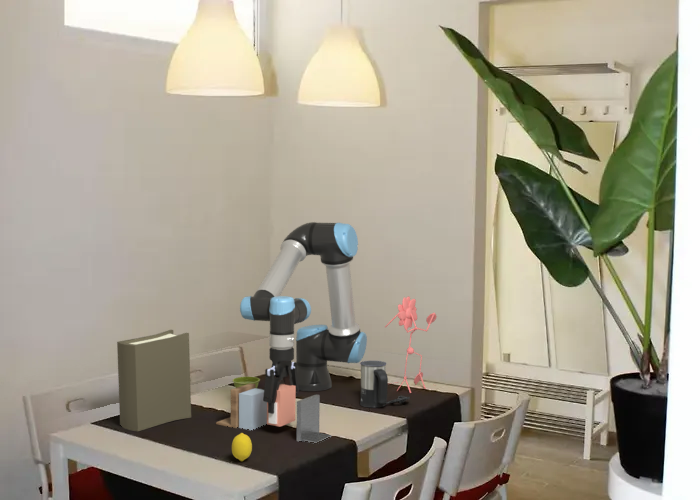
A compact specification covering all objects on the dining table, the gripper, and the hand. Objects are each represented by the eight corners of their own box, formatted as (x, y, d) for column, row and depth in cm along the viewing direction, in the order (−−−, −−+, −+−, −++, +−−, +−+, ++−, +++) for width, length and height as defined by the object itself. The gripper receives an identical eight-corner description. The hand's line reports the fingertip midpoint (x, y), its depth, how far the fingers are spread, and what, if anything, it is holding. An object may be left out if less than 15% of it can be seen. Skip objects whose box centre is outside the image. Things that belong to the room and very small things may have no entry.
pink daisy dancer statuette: (440, 385, 315) (442, 295, 313) (398, 398, 296) (400, 301, 293) (408, 378, 326) (410, 291, 323) (366, 390, 306) (367, 297, 303)
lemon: (228, 463, 225) (228, 434, 225) (237, 457, 231) (237, 429, 230) (245, 465, 223) (246, 437, 223) (255, 459, 229) (255, 431, 228)
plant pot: (242, 409, 279) (242, 384, 278) (227, 403, 286) (227, 379, 285) (265, 404, 285) (265, 380, 284) (249, 399, 292) (249, 375, 292)
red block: (282, 417, 259) (282, 383, 258) (295, 420, 256) (295, 385, 255) (266, 424, 252) (267, 388, 251) (280, 426, 249) (280, 391, 249)
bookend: (315, 432, 254) (315, 394, 253) (332, 436, 250) (333, 397, 250) (296, 441, 245) (296, 401, 244) (314, 444, 242) (315, 404, 241)
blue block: (254, 421, 265) (254, 388, 264) (267, 424, 262) (267, 390, 261) (239, 427, 258) (239, 393, 257) (251, 430, 255) (251, 395, 255)
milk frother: (354, 404, 288) (354, 362, 286) (386, 396, 298) (387, 356, 297) (381, 412, 277) (382, 369, 276) (414, 405, 287) (415, 363, 286)
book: (135, 434, 252) (132, 344, 250) (117, 428, 258) (114, 340, 256) (191, 417, 269) (188, 333, 266) (173, 412, 275) (170, 329, 272)
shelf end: (236, 416, 270) (236, 380, 269) (255, 420, 266) (255, 384, 265) (216, 424, 262) (216, 387, 261) (235, 428, 257) (235, 390, 256)
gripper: (271, 354, 241) (270, 430, 243) (311, 343, 259) (310, 414, 261) (250, 351, 245) (250, 426, 247) (291, 340, 263) (291, 410, 265)
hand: (281, 419), depth 254 cm, fingers closed on red block, 8 cm apart
